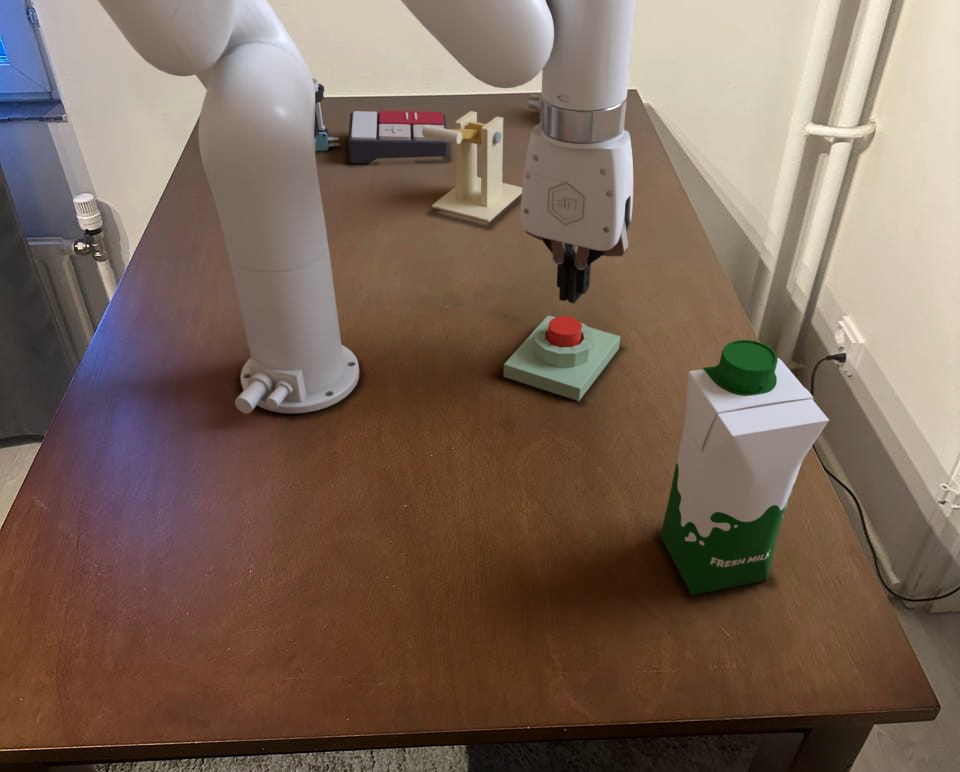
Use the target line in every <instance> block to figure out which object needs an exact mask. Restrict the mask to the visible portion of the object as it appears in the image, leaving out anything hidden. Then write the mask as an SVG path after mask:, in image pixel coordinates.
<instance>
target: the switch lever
mask: <svg viewBox="0 0 960 772" xmlns="http://www.w3.org/2000/svg"><path fill="white" fill-rule="evenodd" d="M486 124H487V123H483V122H478V121H477V122H469V123H468V129H455V128H450V129H449V128H447V129H444V128H440V127H435V126H431V125H424V127H423V129H422V134H423V136H424V137H427V138H432V139H436V140H441V141H445V142H448V144H449V143H450V144H454V145H455V144H460V143H461V141H462V139H466V142H469V143H474V144H477V146H478V145H479V146H481V128H482V127H483V126H485V125H486Z"/></svg>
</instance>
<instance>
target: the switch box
mask: <svg viewBox="0 0 960 772" xmlns="http://www.w3.org/2000/svg"><path fill="white" fill-rule="evenodd" d="M554 318H556V317H555V316H552V315H547V316H546V317H545V318H544V319H543V320H542V321H541V322H540V324H539V325H537V327H536V328H535V329H534V330H533V331H532V332H531V334H529V335H528V336H527V338H526V339H525V340H524V342H522V343H521V344H520V345H519V347H518V348H517V349H516V350H515V351H514V352H513V354H511V356H510V357H509V358H508V359H507V360H506V361H505V362H504V364H503V378H506V379H509V380H512V381H515V382H518V383H521V384H525V385H528V386H531V387H534V388H537V389H539V390H543V391H546V392H549V393H553V394H555V395H558V396H562V397H565V398H568V399H571V400H574V401H577V402H580V401H581V399H583V397H584V395H585V394H586V393H587V391H588V390H589V389H590V388H591V386H592V385H593V384H594V383H595V381H596V380H597V378H599V376H600V375H601V373H602V372H603V370H604V369H605V368H606V366H607V365H608V364H609V362H610V361H611V360H612V358H613V357H614V356H615V354H616V353H617V352H618V351H619V350H620V343H621V335H617V334H614V333H611V332H607V331H604V330H601V329H597V328H593V327H589V326H588V325H586V324H585V323H583V322H580V323H581V324H582V332H581V341H580V343H579V344H578V345H576V346H573V347H558V346H555V345H552V344H550V343H549V341H548V324H549V322H550V321H551V320H552V319H554Z"/></svg>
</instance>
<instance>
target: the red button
mask: <svg viewBox="0 0 960 772" xmlns="http://www.w3.org/2000/svg"><path fill="white" fill-rule="evenodd" d="M581 323H582V322H581V321H580V320H578V318H575V317H572V316H567V315H563V316H557V317H556V318H554V319H552V320H551V321H550V322H549V324H548V341H549V343H550V344H552V345H555V346H558V347H573V346H576V345H578V344H579V343H580V341H581V332H582V324H581Z"/></svg>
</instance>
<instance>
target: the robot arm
mask: <svg viewBox="0 0 960 772" xmlns="http://www.w3.org/2000/svg"><path fill="white" fill-rule="evenodd" d="M400 1H401V2H402V4H403V5H404V6H405V7H406V8H407V9H408V11H409V12H410V13H411V14H412V15H413V16H414V17H415V19H416V20H418V21H419V23H420V24H421V25H422V26H423V27H424V28H425V29H426V30H427V31H428V33H429V34H430V35H431V36H432V37H433V38H435V40H436V41H437V42H438V43H439V44H440V45H441V46H442V47H443V49H445V50H446V51H447V52H448V53H449V54H450V56H452V57H453V58H454V60H456V62H458V64H460V65H461V66H462V67H463V69H465V70H466V71H467V73H469V74H470V75H471V76H473V77H474V78H475V79H476V80H478V81H480V82H482V83H483V84H485V85H488V86H490V87H494V88H499V89H512V88H517V87H521V86H524V85H526V84H527V83H529V82H530V81H533V79H534V78H536V77H537V76H538V75H539V74H540V73H541V92H540V93H538V94H535V93H531V94H530V95H529V97H528V102H527V107H528V109H529V110H532V111H535V112H536V113H538V124H537V125H535V126H533V128H532V129H531V133H530V138H529V140H528V146H527V150H526V157H525V164H524V168H523V169H524V170H523V176H522V186H521V187H522V193H521V196H520V197H521V198H520V200H521V201H520V224H521V226H522V228H523V229H524V231H525V233H526V234H527V235H528V236H531V237H533V238H535V239H536V240H539V241H542V242H543V244H544V245H545V246H546V248H547V249H548V250H549V252H550V253H551V254H552V260H553V262H554V263H555V264H556V265H557V271H556V287H557V288H559V292H558V300H559V301H563V302H566V301H568V303H570V304H574V305H575V303H576V302H577V301H578V300H579V299H580V298H581V296H582V295H585V294H586V293H587V292H588V291H589V288H590V281H591V269H592V268H591V267H592V263H594V262H596V261H597V260H598V259H600V258H601V257H622V256H624V254H625V253H626V252H627V251H628V250H629V248H630V247H629V240H628V234H627V233H628V231H629V229H630V227H631V223H632V216H633V205H634V161H633V160H634V159H633V150H632V148H633V147H632V141H631V134H630V132H629V131H627V130H625V120H626V111H627V110H626V109H627V99H628V88H629V80H630V79H629V78H630V67H631V66H630V65H631V55H632V54H631V53H632V43H633V32H634V22H635V11H636V0H400ZM97 2H98V3H99V5H100V6H101V7H102V9H103V10H104V11H105V12H106V14H107V15H108V16H109V18H110V19H111V20H112V22H113V23H114V24H115V27H117V29H118V30H119V32H120V33H121V34H122V35H123V37H124V38H125V39H126V41H127V42H128V43H129V45H130V46H131V47H132V49H134V51H136V53H137V54H138V55H139V56H140V57H141V58H142V59H143V60H144V61H145V62H146V63H148V64H149V65H151V66H152V67H154V68H155V69H156V70H158V71H161V72H163V73H165V74H167V75H170V76H177V77H191V76H196V78H197V79H198V81H199V82H200V83H201V84H202V86H203V87H204V88H205V91H206V92H205V95H204V98H203V102H202V105H201V108H200V114H199V119H198V147H199V152H200V158H201V162H202V167H203V170H204V173H205V176H206V180H207V182H208V184H209V188H210V190H211V191H210V192H211V194H212V196H213V199H214V200H213V201H214V203H215V206H216V210H217V214H218V217H219V222H220V225H221V230H222V234H223V239H224V244H225V248H226V253H227V256H228V259H229V264H230V269H231V273H232V278H233V283H234V288H235V291H236V296H237V297H236V298H237V301H238V305H239V311H240V314H241V319H242V324H243V329H244V332H245V337H246V342H247V348H248V351H249V356H250V357H249V358H248V360H247V361H246V362H244V365H243V367H242V368H241V372H240V376H239V377H240V384H241V389H242V391H241V393H240V394H239V395H238V396H237V397H236V398H235V400H234V404H235V407H236V408H237V410H238V411H240V412H241V413H242V414H246V415H247V414H251V413H252V411H253V410H254V409H255V408H256V407H257V406H258V407H259V408H262V409H264V410H267V411H270V412H274V413H279V414H293V415H294V414H295V415H296V414H306V413H312V412H316V411H321V410H323V409H327V408H329V407H331V406H333V405H335V404H337V403H339V402H340V401H342V400H343V399H345V398H347V396H349V395H350V394H351V393H353V390H354V389H355V388H356V386H357V385H358V382H359V379H360V366H359V361H358V358H357V356H356V355H355V354H354V353H353V351H351V350H350V348H348V347H346V346H345V345H343V344H342V340H341V339H342V338H341V330H340V321H339V315H338V309H337V308H338V307H337V301H336V300H337V299H336V293H335V284H334V277H333V269H332V261H331V254H330V245H329V242H328V235H327V227H326V220H325V213H324V206H323V199H322V193H321V188H320V180H319V174H318V168H317V167H318V166H317V159H316V158H317V157H316V151H315V144H314V125H315V111H316V105H315V89H314V83H313V79H312V78H313V76H312V74H311V71H310V68H309V66H308V65H307V62H306V61H305V59H304V56H303V55H302V54H301V52H300V50H299V48H298V47H297V45H296V43H295V42H294V40H293V38H292V37H291V35H290V34H289V33H288V31H287V29H286V28H285V26H284V25H283V23H282V22H281V20H280V19H279V17H278V15H277V13H276V12H275V11H274V9H273V7H272V6H271V4H270V3H269V1H268V0H97ZM576 247H577V248H576ZM576 249H577V250H576Z"/></svg>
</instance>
